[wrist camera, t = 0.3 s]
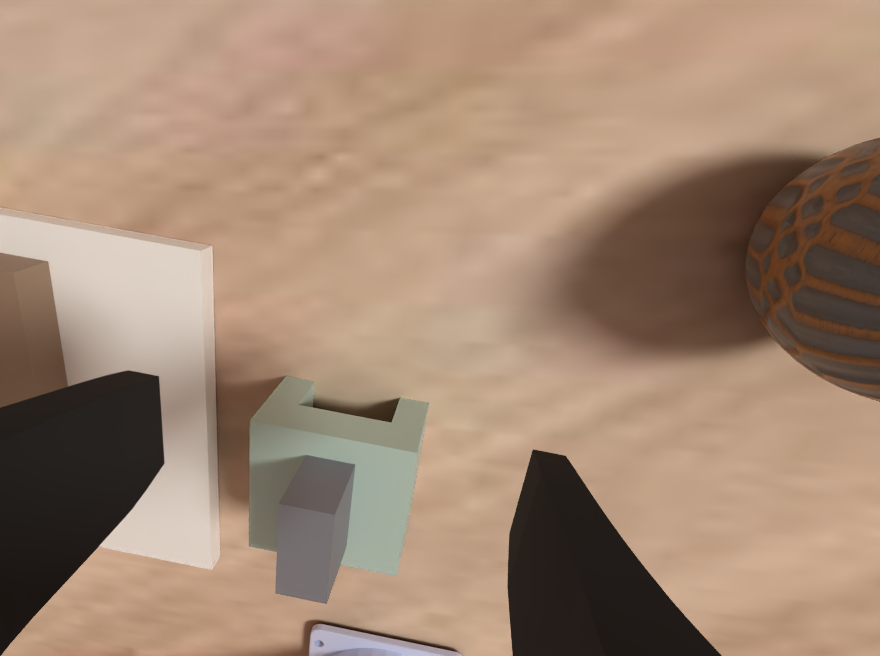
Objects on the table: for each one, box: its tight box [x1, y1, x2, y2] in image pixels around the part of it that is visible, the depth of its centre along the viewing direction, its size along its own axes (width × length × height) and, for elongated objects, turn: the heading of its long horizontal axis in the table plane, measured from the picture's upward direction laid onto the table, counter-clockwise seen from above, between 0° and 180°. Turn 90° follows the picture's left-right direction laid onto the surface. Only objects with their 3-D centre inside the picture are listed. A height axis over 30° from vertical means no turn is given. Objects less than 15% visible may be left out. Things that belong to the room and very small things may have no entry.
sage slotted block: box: [249, 376, 429, 604], centre depth 19 cm, size 6×6×6 cm
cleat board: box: [0, 207, 220, 570], centre depth 21 cm, size 16×14×2 cm
